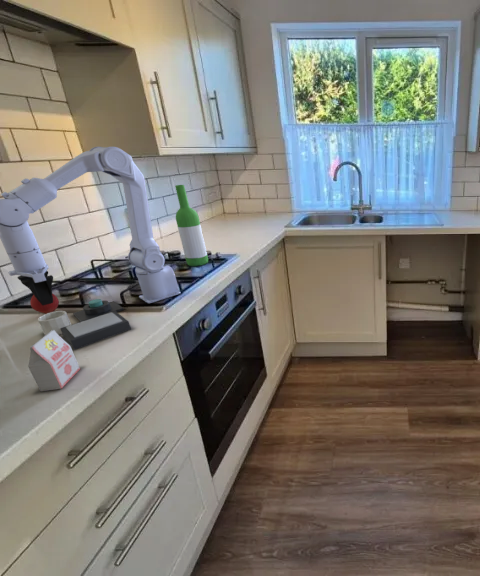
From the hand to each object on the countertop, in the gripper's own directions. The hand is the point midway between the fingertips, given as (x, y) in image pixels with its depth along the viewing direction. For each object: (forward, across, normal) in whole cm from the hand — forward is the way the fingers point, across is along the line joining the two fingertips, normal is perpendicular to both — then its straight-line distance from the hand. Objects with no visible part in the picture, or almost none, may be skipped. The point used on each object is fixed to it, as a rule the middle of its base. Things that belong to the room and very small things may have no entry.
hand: (46, 302), depth 91 cm
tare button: (+6, -4, +10) cm, 12 cm away
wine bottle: (+9, -23, +48) cm, 54 cm away
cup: (+8, 0, 0) cm, 8 cm away
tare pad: (+8, -4, +10) cm, 14 cm away
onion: (+9, -15, +1) cm, 17 cm away
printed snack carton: (+9, +27, -5) cm, 29 cm away
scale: (+8, +10, +6) cm, 14 cm away
